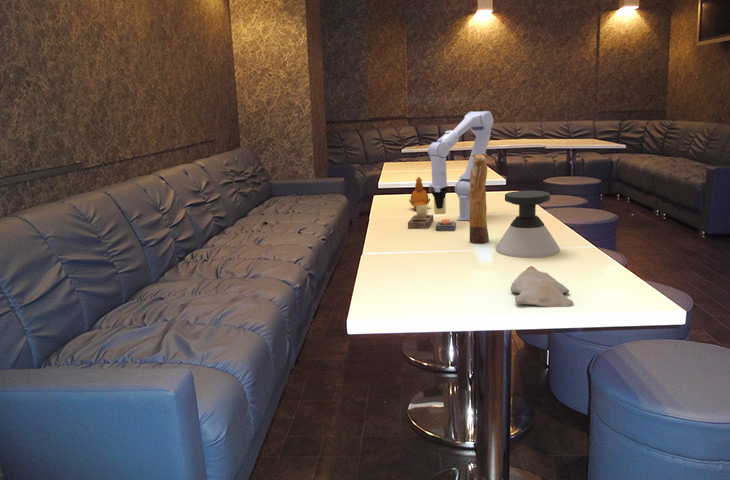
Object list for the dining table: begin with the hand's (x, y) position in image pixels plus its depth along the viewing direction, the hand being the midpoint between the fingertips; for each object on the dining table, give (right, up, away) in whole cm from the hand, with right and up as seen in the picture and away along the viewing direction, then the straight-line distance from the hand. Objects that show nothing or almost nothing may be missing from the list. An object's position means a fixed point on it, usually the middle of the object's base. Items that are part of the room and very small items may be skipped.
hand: (440, 207), depth 244 cm
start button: (+1, -7, -7) cm, 10 cm away
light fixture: (+23, -16, -45) cm, 53 cm away
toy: (-5, +1, +39) cm, 39 cm away
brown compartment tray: (-7, -7, +4) cm, 11 cm away
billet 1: (-6, -5, +8) cm, 11 cm away
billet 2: (0, -2, +1) cm, 2 cm away
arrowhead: (+15, -26, -84) cm, 90 cm away
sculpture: (+10, -13, -29) cm, 34 cm away
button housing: (+1, -9, -7) cm, 11 cm away
